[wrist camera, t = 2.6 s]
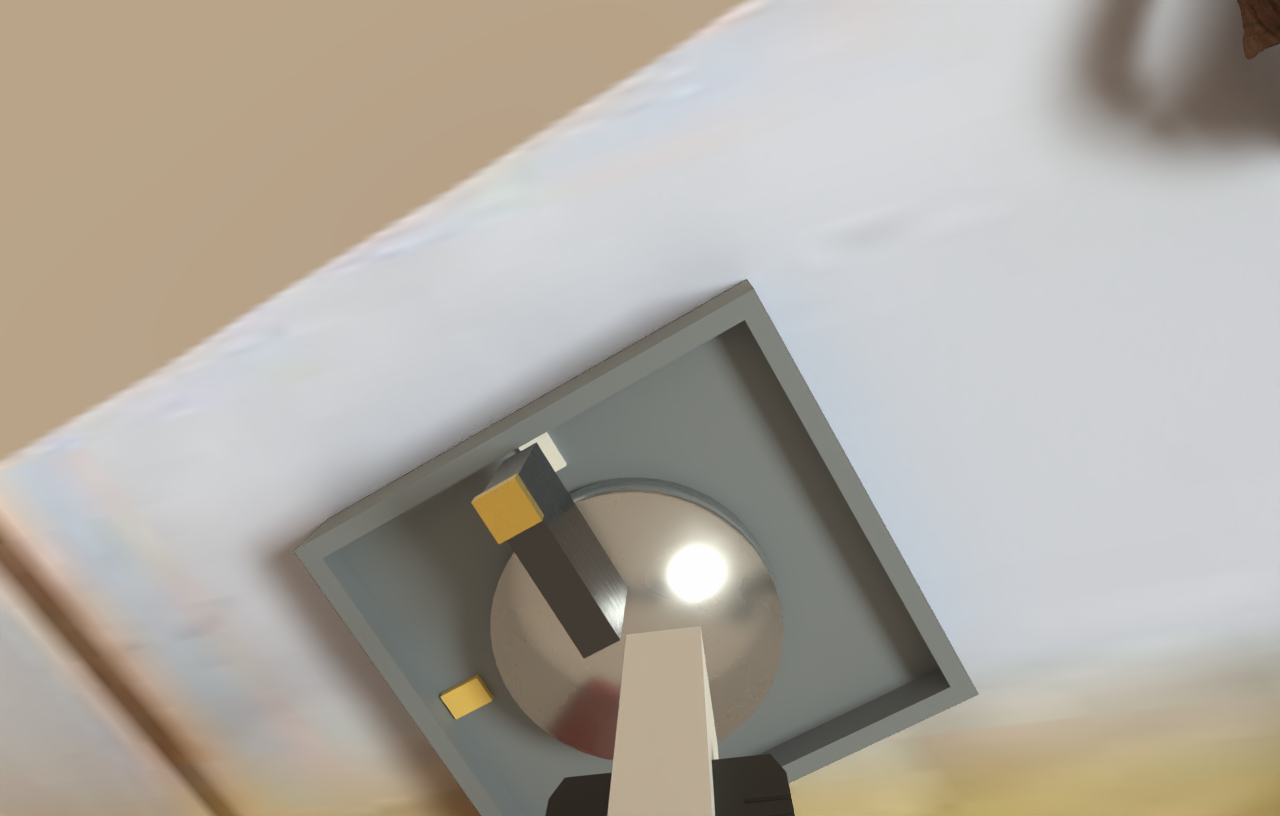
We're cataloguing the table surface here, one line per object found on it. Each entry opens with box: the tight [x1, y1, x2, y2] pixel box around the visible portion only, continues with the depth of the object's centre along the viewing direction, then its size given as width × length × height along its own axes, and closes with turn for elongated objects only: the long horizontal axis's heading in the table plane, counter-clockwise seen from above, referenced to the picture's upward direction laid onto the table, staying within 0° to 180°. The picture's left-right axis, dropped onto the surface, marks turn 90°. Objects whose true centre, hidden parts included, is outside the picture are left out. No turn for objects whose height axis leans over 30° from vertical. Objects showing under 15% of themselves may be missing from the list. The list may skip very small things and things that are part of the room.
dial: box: [471, 442, 784, 760], centre depth 32 cm, size 14×11×6 cm
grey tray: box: [294, 279, 978, 816], centre depth 36 cm, size 18×20×3 cm
